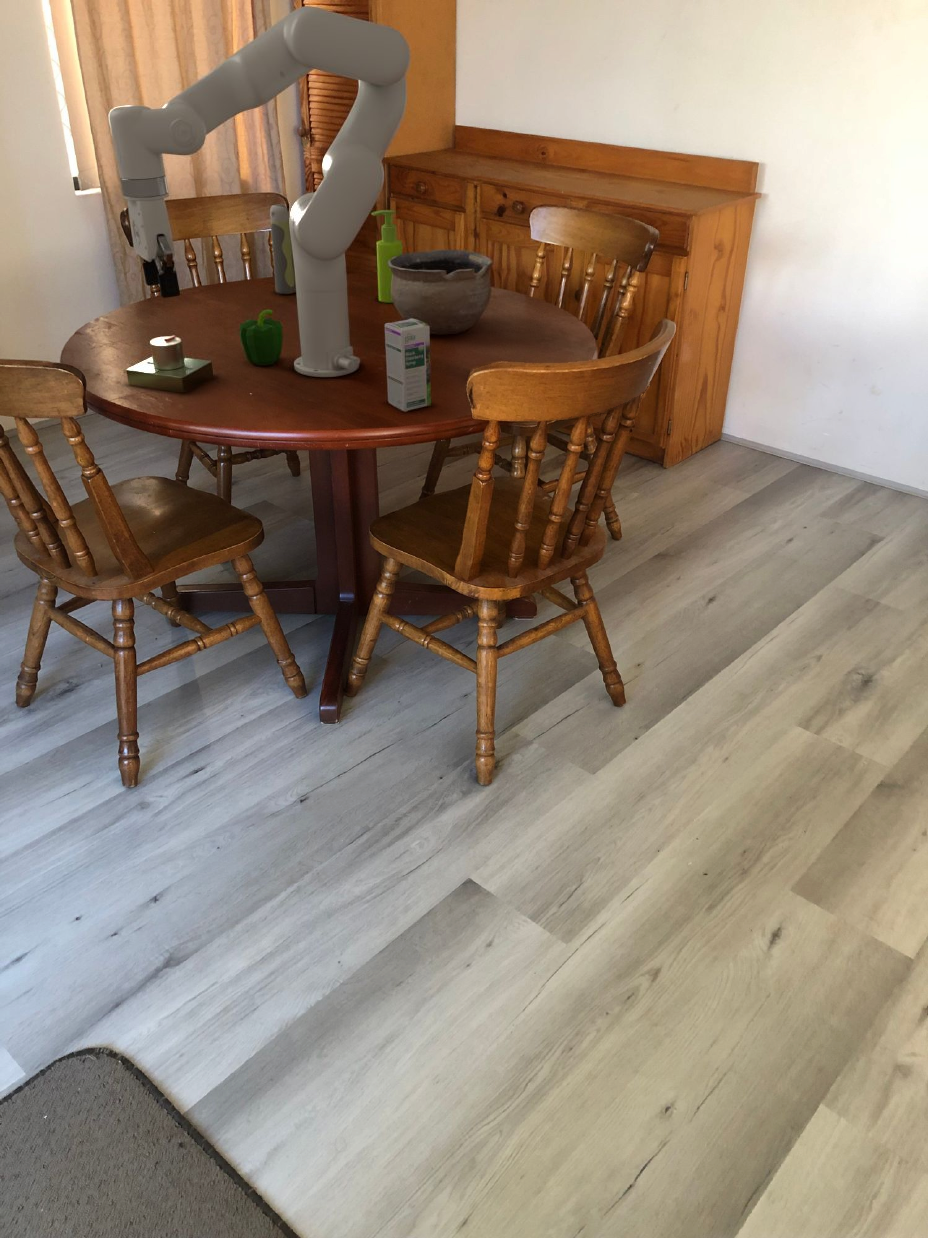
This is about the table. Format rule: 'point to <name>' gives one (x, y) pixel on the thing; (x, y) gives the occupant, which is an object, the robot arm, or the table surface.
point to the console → (170, 375)
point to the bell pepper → (262, 339)
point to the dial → (167, 353)
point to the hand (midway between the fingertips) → (163, 290)
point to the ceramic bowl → (441, 288)
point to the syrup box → (408, 364)
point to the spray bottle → (282, 250)
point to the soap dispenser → (386, 255)
